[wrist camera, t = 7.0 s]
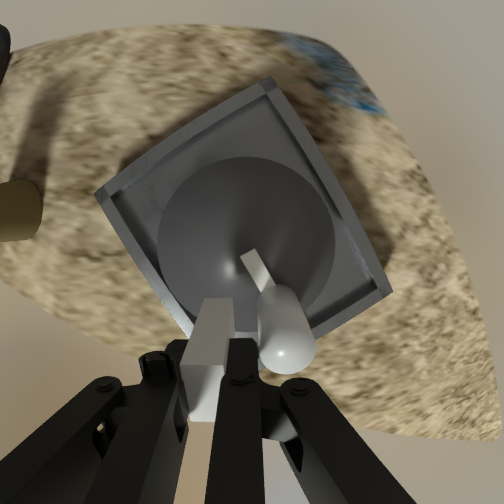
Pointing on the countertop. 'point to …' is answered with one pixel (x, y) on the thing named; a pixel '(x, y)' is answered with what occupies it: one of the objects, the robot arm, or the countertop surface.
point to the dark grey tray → (244, 145)
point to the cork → (19, 210)
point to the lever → (251, 251)
